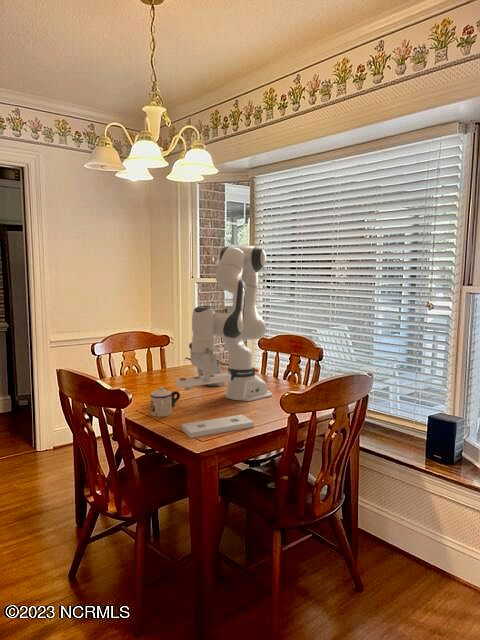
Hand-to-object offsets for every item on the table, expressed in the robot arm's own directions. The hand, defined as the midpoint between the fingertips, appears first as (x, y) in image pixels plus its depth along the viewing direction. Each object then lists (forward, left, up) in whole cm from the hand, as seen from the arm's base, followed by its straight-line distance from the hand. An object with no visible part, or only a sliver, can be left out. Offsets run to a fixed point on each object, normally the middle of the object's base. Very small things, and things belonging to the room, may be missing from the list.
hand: (204, 380), depth 184 cm
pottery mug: (+8, -25, -17) cm, 31 cm away
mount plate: (-1, +12, -16) cm, 20 cm away
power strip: (0, 0, -3) cm, 3 cm away
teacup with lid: (+14, -13, -16) cm, 25 cm away
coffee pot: (-21, -51, -17) cm, 57 cm away
